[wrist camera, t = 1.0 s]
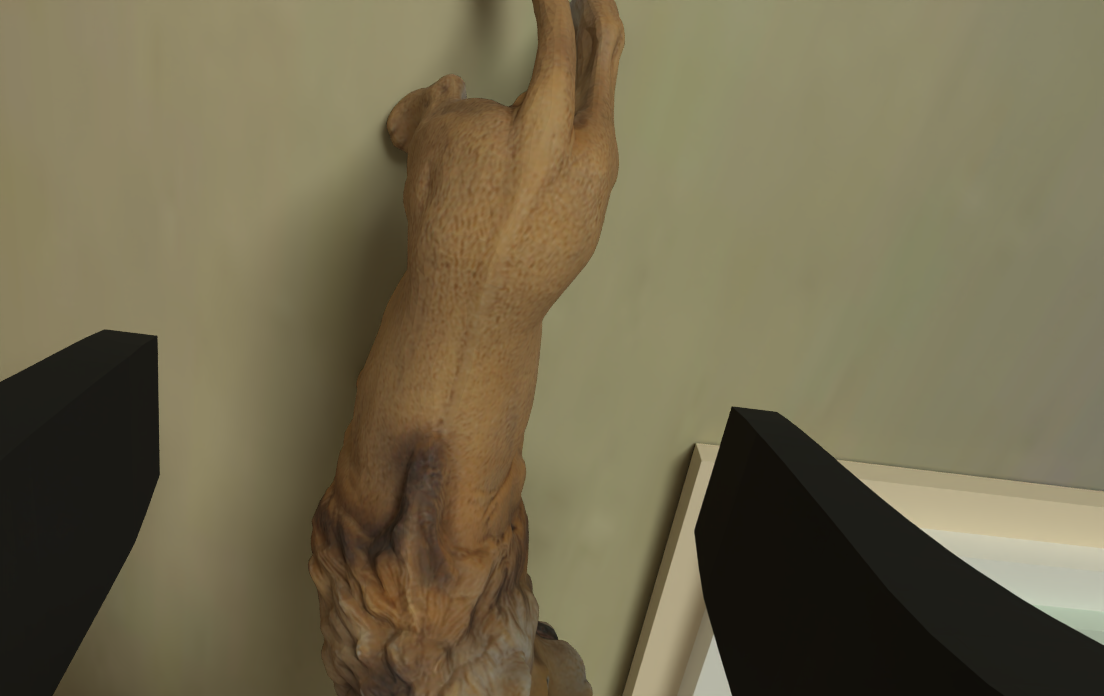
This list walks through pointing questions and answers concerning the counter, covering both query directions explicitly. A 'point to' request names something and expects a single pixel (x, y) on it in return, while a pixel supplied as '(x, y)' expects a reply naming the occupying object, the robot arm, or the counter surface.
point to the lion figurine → (467, 381)
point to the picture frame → (932, 505)
